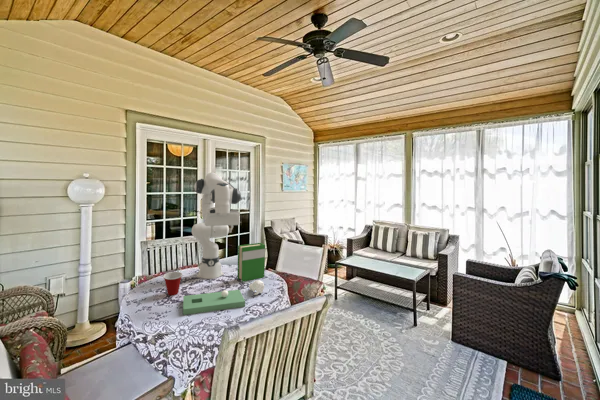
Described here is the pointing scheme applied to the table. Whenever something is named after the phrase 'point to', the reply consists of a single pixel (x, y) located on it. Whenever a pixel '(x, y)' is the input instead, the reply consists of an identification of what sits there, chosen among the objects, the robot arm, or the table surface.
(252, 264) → the hardback book
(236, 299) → the green
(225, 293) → the ball
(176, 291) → the plastic cup
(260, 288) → the white snowman figurine
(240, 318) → the table surface
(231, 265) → the table surface
